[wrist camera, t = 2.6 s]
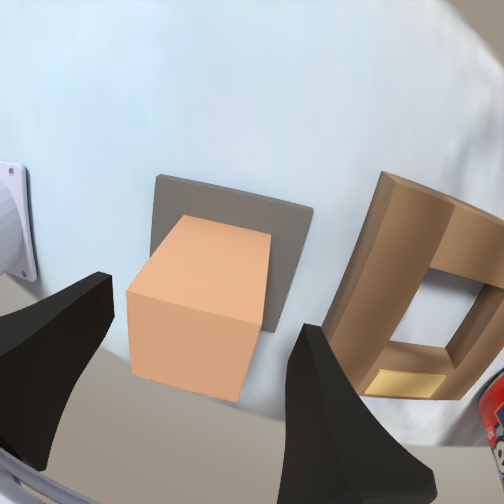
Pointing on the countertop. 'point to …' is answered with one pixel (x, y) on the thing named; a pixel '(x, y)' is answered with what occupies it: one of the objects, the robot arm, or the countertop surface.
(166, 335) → the peg
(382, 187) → the socket block
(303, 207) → the pad
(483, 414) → the soda can
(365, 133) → the countertop surface
